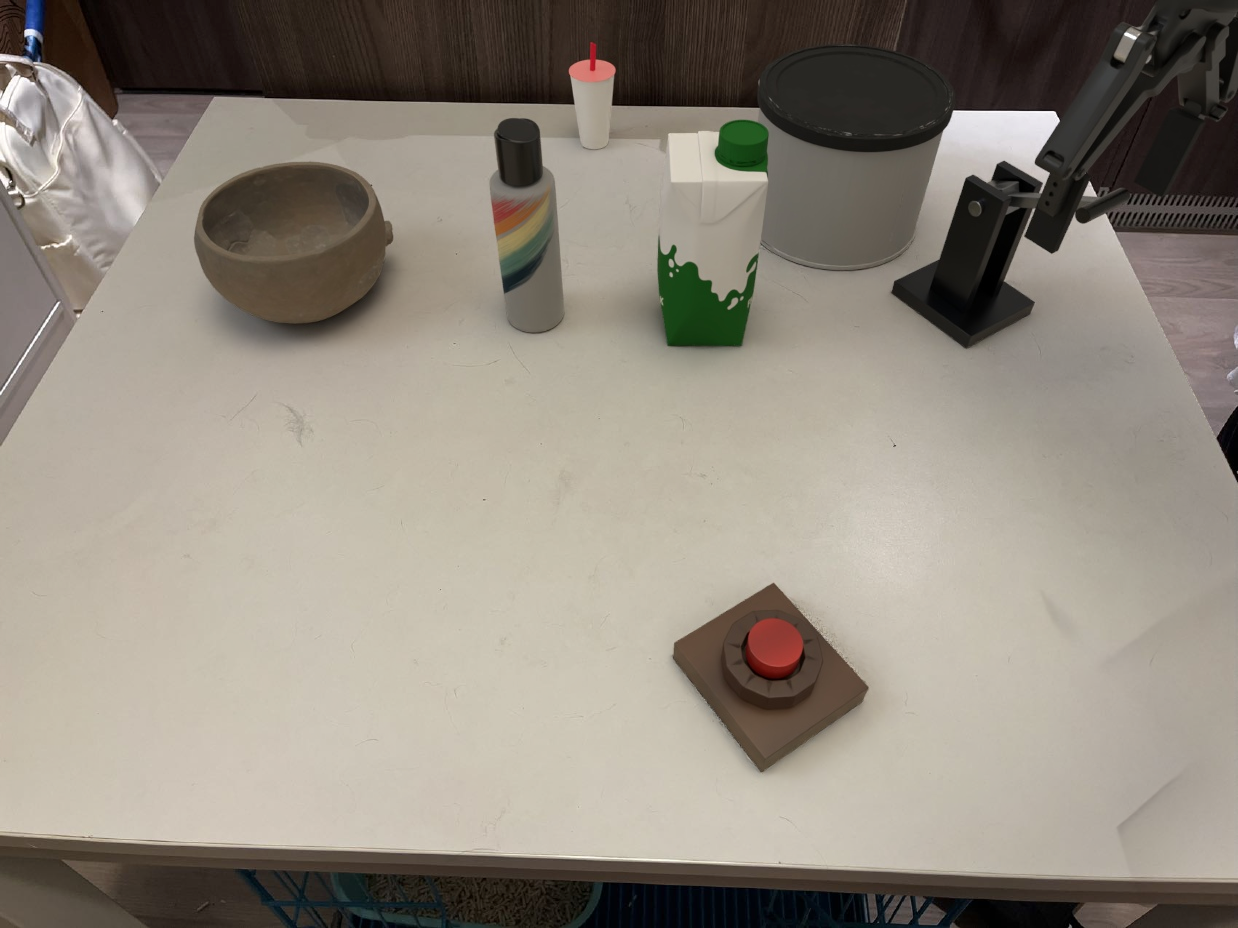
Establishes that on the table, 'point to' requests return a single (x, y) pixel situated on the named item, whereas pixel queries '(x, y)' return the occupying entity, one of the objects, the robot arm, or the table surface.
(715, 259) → the milk carton
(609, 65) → the cup
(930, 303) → the black lever switch
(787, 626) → the red push button
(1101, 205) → the lever handle
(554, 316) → the lotion bottle
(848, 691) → the control block
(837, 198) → the container
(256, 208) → the bowl
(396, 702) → the table surface
